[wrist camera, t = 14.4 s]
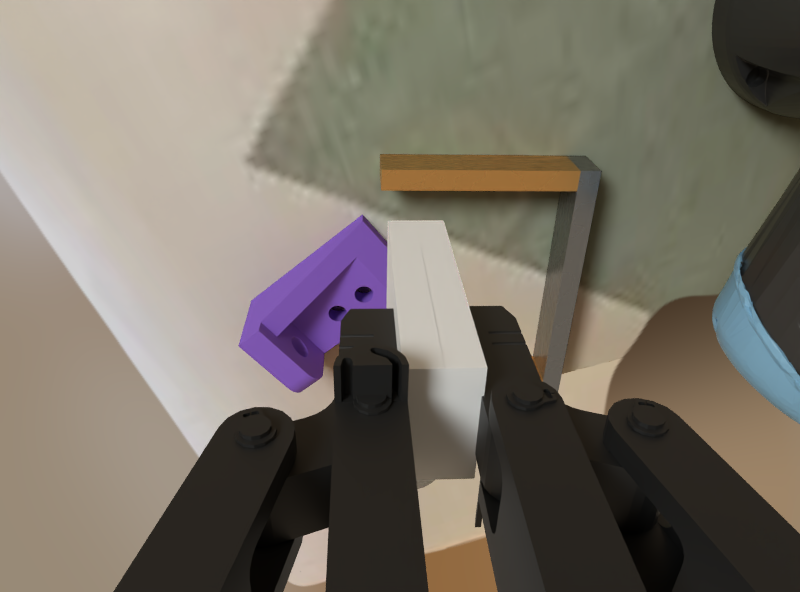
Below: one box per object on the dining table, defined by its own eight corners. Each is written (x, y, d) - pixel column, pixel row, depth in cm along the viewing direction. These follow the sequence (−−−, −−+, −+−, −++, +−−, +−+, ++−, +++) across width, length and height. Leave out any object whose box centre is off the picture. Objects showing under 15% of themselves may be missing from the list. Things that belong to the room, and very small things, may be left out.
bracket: (308, 349, 54) (302, 400, 48) (252, 298, 51) (238, 346, 45) (415, 272, 51) (423, 316, 45) (362, 213, 48) (363, 251, 42)
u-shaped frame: (585, 155, 46) (601, 171, 43) (546, 369, 56) (557, 393, 53) (380, 154, 45) (381, 169, 42) (377, 371, 55) (378, 396, 52)
